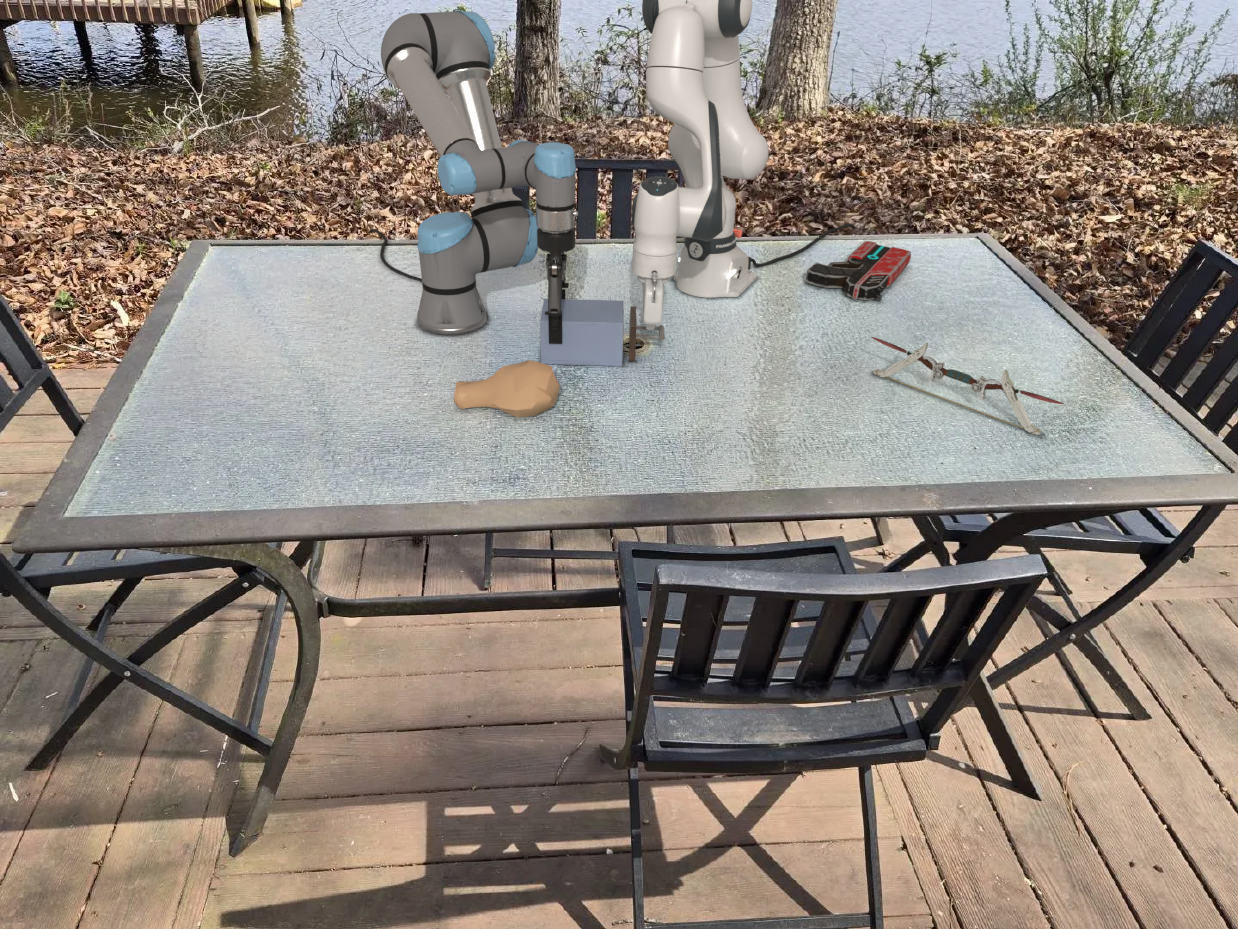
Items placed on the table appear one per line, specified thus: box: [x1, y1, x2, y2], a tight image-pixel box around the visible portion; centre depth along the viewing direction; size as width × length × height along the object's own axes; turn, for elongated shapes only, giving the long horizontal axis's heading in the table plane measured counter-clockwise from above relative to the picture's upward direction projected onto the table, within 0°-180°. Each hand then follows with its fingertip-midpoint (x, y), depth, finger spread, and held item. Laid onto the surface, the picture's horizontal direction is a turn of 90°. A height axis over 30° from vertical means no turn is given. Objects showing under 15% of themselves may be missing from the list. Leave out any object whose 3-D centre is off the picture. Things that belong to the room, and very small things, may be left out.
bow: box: [870, 336, 1065, 436], centre depth 169 cm, size 39×2×10 cm, turn 47°
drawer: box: [622, 305, 666, 362], centre depth 183 cm, size 22×10×8 cm, turn 90°
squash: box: [453, 359, 561, 418], centre depth 163 cm, size 11×20×9 cm, turn 90°
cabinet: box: [539, 298, 625, 367], centre depth 183 cm, size 17×11×10 cm
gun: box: [805, 240, 912, 302], centre depth 224 cm, size 4×31×19 cm
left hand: (557, 330), depth 183 cm, fingers closed on cabinet, 11 cm apart
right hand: (650, 327), depth 182 cm, fingers closed
